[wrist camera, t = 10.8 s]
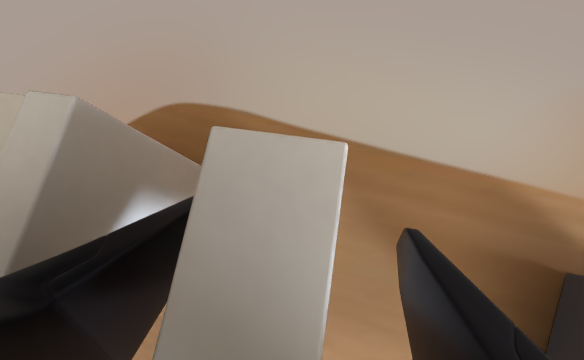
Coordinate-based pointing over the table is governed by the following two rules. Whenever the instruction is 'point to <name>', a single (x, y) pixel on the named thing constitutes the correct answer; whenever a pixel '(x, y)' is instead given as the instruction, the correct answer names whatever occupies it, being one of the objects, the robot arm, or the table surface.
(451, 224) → the table surface
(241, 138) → the white tall block
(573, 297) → the grey books
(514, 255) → the table surface
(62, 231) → the white books
